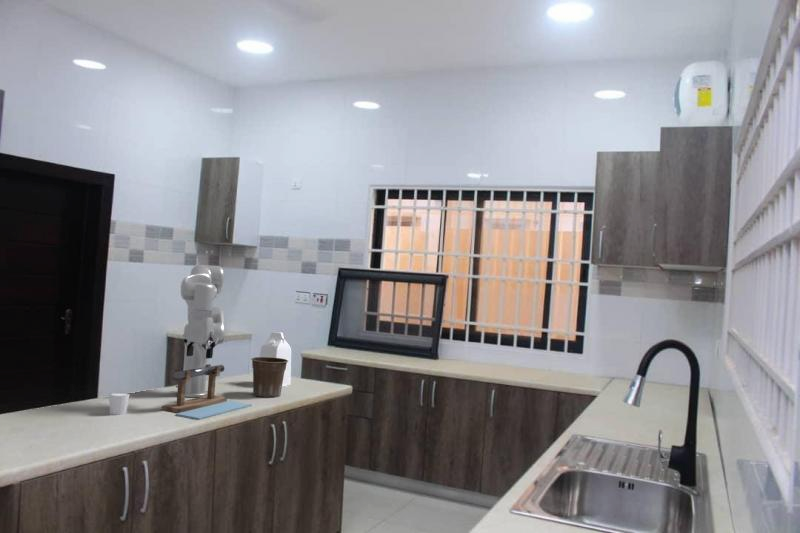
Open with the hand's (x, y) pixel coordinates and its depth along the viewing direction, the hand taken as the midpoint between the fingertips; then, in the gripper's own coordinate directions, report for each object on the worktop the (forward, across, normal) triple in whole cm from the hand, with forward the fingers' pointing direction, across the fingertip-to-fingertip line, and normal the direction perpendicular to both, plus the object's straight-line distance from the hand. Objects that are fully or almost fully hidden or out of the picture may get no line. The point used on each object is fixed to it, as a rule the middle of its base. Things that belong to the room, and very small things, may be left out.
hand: (199, 357), depth 254 cm
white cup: (+20, -13, -27) cm, 36 cm away
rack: (+20, -1, +1) cm, 20 cm away
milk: (+19, -4, +61) cm, 64 cm away
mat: (+20, +11, -1) cm, 23 cm away
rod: (+7, 0, 0) cm, 7 cm away
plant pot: (+19, +8, +38) cm, 43 cm away
